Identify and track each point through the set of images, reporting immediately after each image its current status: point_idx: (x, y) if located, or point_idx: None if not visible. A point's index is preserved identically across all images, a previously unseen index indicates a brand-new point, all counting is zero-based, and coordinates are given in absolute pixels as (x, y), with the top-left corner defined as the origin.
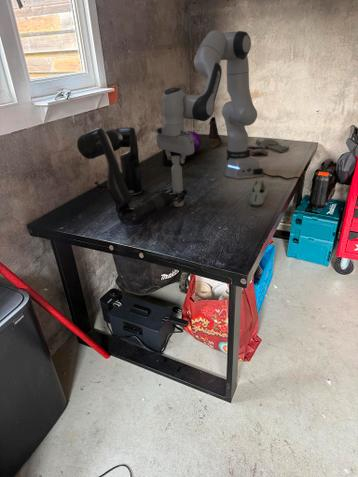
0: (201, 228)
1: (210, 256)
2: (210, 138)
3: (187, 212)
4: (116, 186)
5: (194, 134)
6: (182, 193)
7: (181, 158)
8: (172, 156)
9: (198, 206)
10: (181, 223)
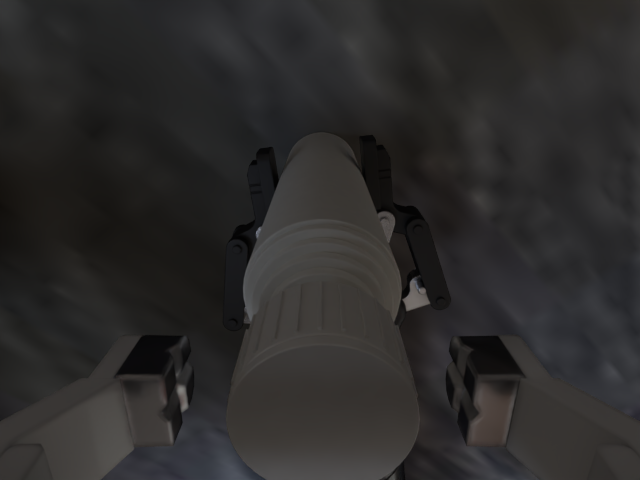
0: (631, 306)
1: None
2: None
3: (449, 217)
4: None
5: None
6: (411, 232)
7: (552, 477)
8: (235, 444)
9: (456, 101)
10: (505, 328)
